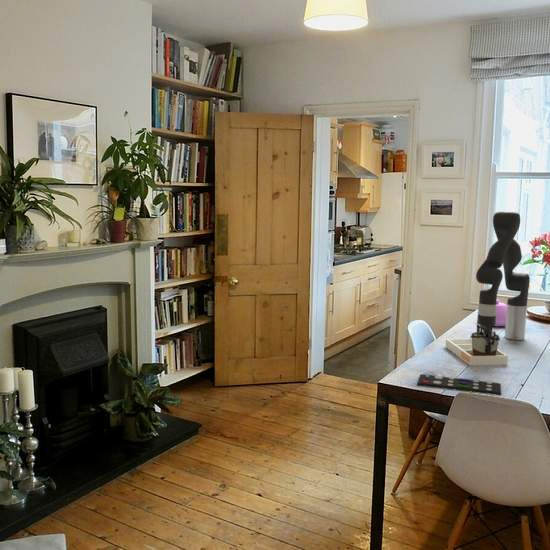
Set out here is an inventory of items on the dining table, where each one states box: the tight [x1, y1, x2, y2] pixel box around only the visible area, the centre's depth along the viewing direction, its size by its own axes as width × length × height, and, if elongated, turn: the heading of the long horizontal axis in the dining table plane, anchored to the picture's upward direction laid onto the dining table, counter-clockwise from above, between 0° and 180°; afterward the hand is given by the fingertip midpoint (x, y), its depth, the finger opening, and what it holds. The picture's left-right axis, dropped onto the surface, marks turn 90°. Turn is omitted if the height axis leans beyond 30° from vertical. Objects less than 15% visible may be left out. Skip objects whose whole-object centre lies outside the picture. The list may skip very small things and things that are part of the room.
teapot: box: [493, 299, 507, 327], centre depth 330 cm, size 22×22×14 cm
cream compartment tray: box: [445, 338, 509, 366], centre depth 271 cm, size 29×17×4 cm, turn 5°
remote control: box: [416, 373, 502, 396], centre depth 231 cm, size 11×30×2 cm, turn 71°
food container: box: [469, 331, 501, 356], centre depth 262 cm, size 12×6×10 cm, turn 69°
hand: (484, 351), depth 262 cm, fingers closed on food container, 6 cm apart
